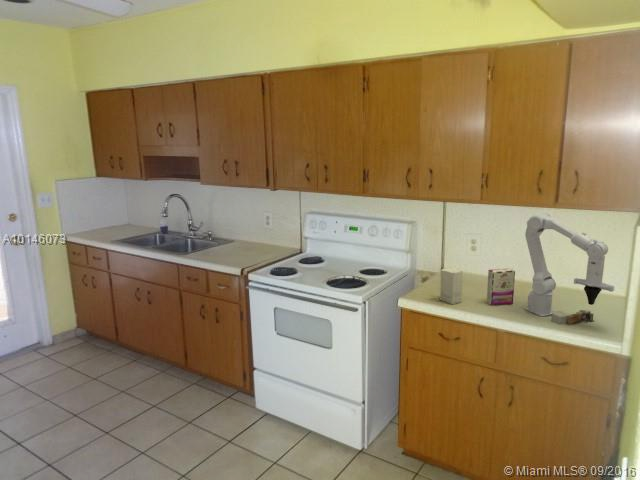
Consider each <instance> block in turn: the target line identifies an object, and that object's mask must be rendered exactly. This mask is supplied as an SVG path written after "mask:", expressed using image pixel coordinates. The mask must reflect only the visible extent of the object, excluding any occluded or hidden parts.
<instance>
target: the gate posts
mask: <svg viewBox="0 0 640 480" xmlns="http://www.w3.org/2000/svg"><path fill="white" fill-rule="evenodd" d="M579 322H580V323H587V322H589V323H593V322H595V320H594V313H592V312H591V313H590V314H588V319H586V314H582V318H581V321H579Z"/></svg>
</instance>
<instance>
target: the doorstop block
mask: <svg viewBox="0 0 640 480" xmlns="http://www.w3.org/2000/svg"><path fill="white" fill-rule="evenodd" d="M567 316H568V314H566V313H563V312H561V311H560V312H559V311H558V312H554V313H552V315H551V317H550V318H551V319H550V320H551V322H553V323H555V324H557V325H564V324H565V325H567V324H568V323H567Z"/></svg>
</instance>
